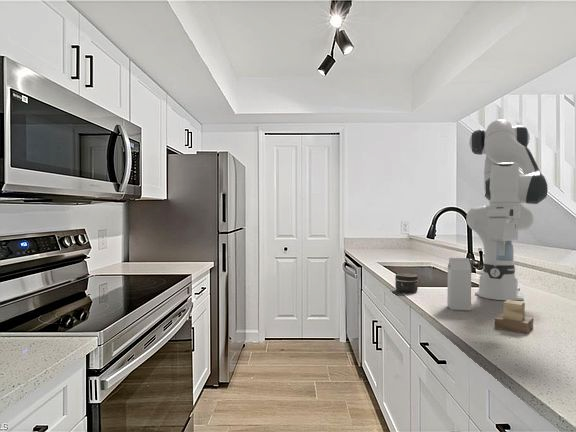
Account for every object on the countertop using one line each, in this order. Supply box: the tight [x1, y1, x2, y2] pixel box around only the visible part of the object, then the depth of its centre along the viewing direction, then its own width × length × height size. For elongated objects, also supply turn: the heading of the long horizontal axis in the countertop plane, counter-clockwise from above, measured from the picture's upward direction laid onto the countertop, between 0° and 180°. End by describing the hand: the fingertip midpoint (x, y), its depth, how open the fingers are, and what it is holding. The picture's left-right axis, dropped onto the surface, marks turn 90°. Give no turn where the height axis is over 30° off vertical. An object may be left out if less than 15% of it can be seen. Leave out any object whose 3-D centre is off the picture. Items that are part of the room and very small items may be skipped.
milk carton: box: [446, 257, 472, 311], centre depth 159 cm, size 7×7×19 cm
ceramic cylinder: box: [496, 244, 514, 262], centre depth 136 cm, size 5×5×5 cm
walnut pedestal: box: [494, 313, 534, 334], centre depth 132 cm, size 9×9×3 cm
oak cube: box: [502, 300, 526, 321], centre depth 132 cm, size 5×5×5 cm
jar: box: [394, 273, 419, 294], centre depth 192 cm, size 10×10×8 cm
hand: (504, 255), depth 136 cm, fingers closed on ceramic cylinder, 5 cm apart
